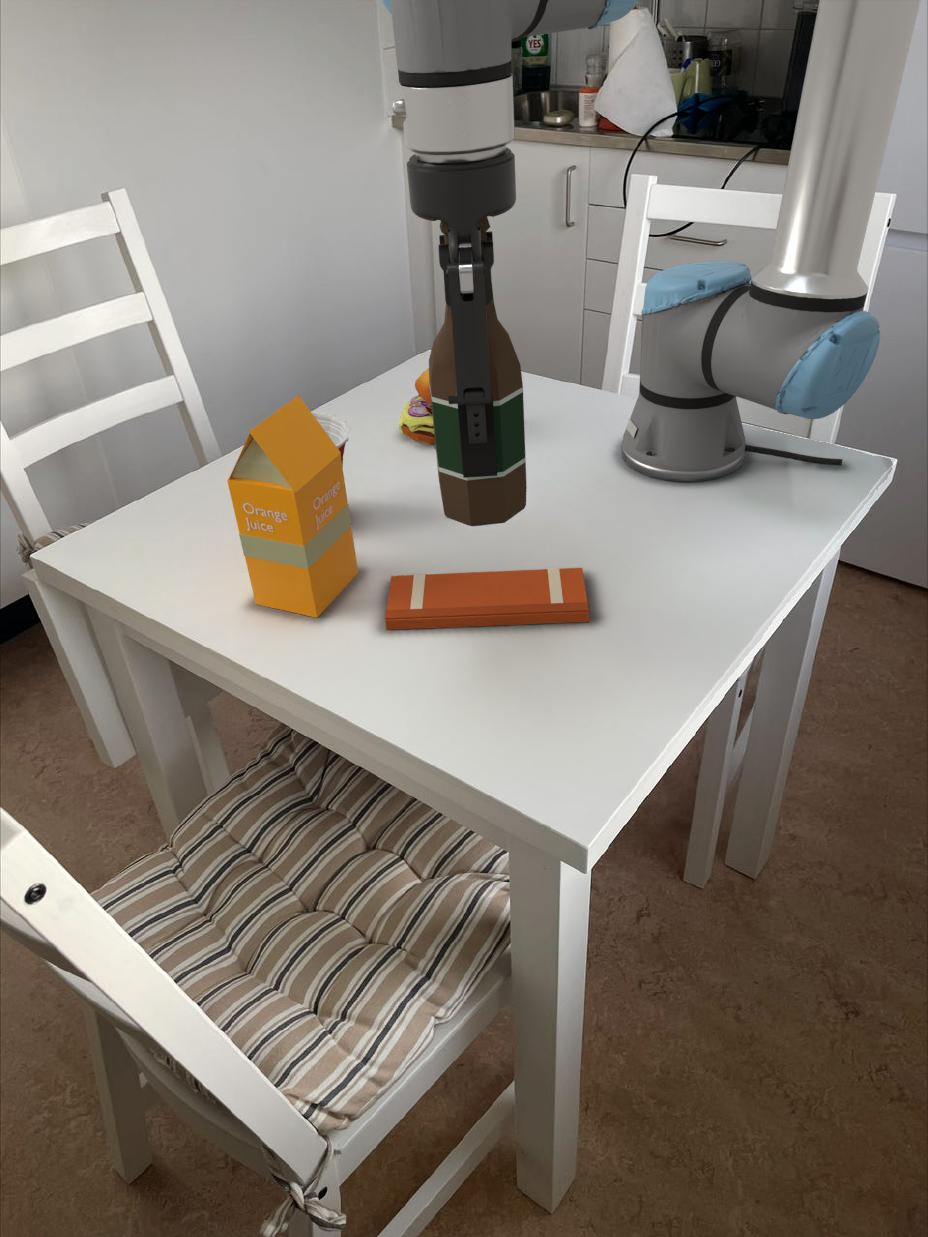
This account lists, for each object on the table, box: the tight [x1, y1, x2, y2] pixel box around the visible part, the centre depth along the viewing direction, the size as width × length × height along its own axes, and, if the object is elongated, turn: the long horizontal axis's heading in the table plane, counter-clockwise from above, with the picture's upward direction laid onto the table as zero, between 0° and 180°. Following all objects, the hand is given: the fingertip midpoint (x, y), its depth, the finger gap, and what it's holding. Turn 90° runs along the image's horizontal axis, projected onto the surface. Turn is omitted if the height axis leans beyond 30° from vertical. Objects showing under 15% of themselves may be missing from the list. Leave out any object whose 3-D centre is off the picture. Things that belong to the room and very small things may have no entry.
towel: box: [384, 567, 590, 631], centre depth 96 cm, size 20×8×1 cm, turn 89°
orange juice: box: [226, 395, 359, 618], centre depth 95 cm, size 8×9×20 cm
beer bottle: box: [428, 217, 528, 527], centre depth 75 cm, size 8×8×24 cm
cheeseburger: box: [398, 368, 435, 446], centre depth 128 cm, size 10×11×10 cm
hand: (480, 450), depth 79 cm, fingers closed on beer bottle, 7 cm apart
